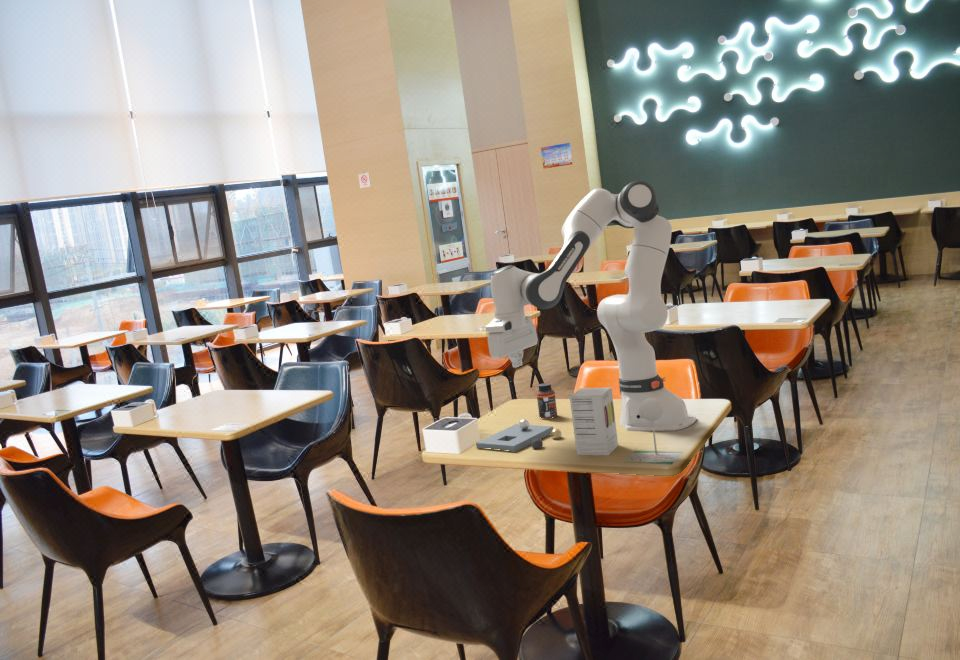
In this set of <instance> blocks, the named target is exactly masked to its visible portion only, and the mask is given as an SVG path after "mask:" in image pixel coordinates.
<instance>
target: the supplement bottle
mask: <svg viewBox="0 0 960 660" xmlns="http://www.w3.org/2000/svg"><path fill="white" fill-rule="evenodd" d="M536 398H537V408H538V409H537V410H538V416H539V418H540V417H541V418H552V417H555V416H557V417H558V410H557V408H558V407H557V401H556V394H555V390H553V389H552V385H551V383H549V382H547V383H546V382H545V383H540V384H538V391H537V392H536ZM555 418H556V417H555ZM552 419H553V418H552Z"/></svg>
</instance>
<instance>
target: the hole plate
mask: <svg viewBox="0 0 960 660" xmlns="http://www.w3.org/2000/svg"><path fill="white" fill-rule="evenodd" d="M552 430H554V426H552V425H549V426H548V425H535V424H529V428H528V429H526V430H522V429H520V427H519V423H518V424H517V423H515V424H513V425H511V426H509V427H507V428H505V429H502V430H499V432H496V433H494V434H492V435H490V436H488V437H485V438H484V439H481V440H479V441H478V442H476V443H475V445H476V449H477V448H491V449H500V450H509V451H517V450H519V449H521V448H523V447H525V448H527V447H529V446H531V445H532V441H533V440H534V439H541V440H543V439H544V437H545V438H547V437H549V436H551V435H550V434H551V432H552ZM548 435H549V436H548ZM546 436H547V437H546ZM542 438H543V439H542ZM530 444H531V445H530ZM528 445H529V446H528ZM526 446H527V447H526ZM523 449H524V448H523ZM521 450H522V449H521ZM519 451H520V450H519ZM517 452H518V451H517Z"/></svg>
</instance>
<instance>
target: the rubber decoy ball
mask: <svg viewBox="0 0 960 660" xmlns="http://www.w3.org/2000/svg"><path fill="white" fill-rule="evenodd" d="M543 445H544V443H543V441H542V439H541V440H540V439H534V440H533V441H532V444H531V448H532V449H533V448H534V449H533V450H540V449H542V448H543ZM539 448H540V449H539Z"/></svg>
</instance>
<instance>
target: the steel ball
mask: <svg viewBox="0 0 960 660" xmlns="http://www.w3.org/2000/svg"><path fill="white" fill-rule="evenodd" d="M518 424H519V427H520V429H522V430H526V429H528V428H529V425H530V422H529V421H528V420H527V419H521V420H520V421H519V423H518Z"/></svg>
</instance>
